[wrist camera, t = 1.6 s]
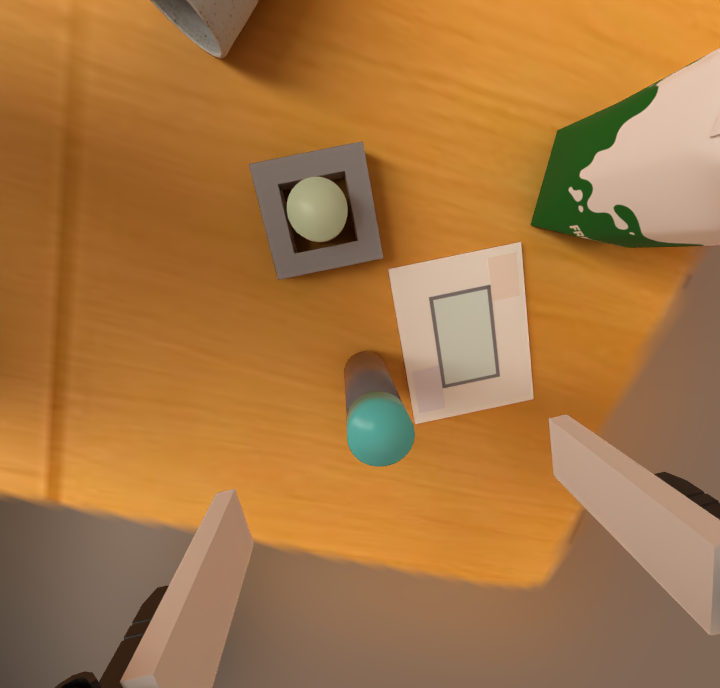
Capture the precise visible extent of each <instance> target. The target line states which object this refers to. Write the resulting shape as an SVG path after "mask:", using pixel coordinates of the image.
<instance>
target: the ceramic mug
mask: <svg viewBox="0 0 720 688" xmlns="http://www.w3.org/2000/svg"><path fill="white" fill-rule="evenodd" d="M150 1H151V2H152V3H153V4H154V5H155V6H156V7H157V8H158V9H159V10H160V11H161V12H162V13H163V14H164V15H165V16H166V17H167V19H169V20H170V21H171V22H172V23H173V24H174V25H176V26H177V27H178V28H179V29H180V30H181V31H182V32H183V33H184V34H185V35H186V36H187V37H188V38H189V39H191V40H192V41H193V42H194V43H196V44H197V45H198V46H199V47H200V48H202V49H204V50H205V51H206V52H207V53H209V54H211V55H213V56H215V57H217V58H223V57H225V56H226V55H227V54H228V52H229V50H230V48H231V47H232V45H233V43H234V41H235V40H236V38H237V37H238V35H239V33H240V32H241V30H242V29H243V27H244V25H245V24H246V22H247V20H248V19H249V17H250V15H251V14H252V12H253V10H254V8H255V7H256V5H257V3H258V2H259V0H150Z"/></svg>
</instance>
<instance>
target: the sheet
mask: <svg viewBox="0 0 720 688" xmlns="http://www.w3.org/2000/svg"><path fill="white" fill-rule="evenodd" d="M388 273H389V279H390V284H391V290H392V296H393V301H394V307H395V313H396V319H397V324H398V330H399V336H400V342H401V347H402V353H403V359H404V365H405V370H406V376H407V382H408V387H409V393H410V399H411V405H412V410H413V416H414V422H415V424H419V423H423V422H428V421H433V420H438V419H442V418H447V417H452V416H456V415H461V414H466V413H471V412H475V411H480V410H485V409H490V408H494V407H499V406H504V405H508V404H513V403H518V402H523V401H527V400H532V399H534V396H533V384H532V372H531V359H530V347H529V334H528V322H527V309H526V297H525V284H524V272H523V259H522V247H521V242H517V243H512V244H508V245H503V246H498V247H493V248H488V249H483V250H478V251H474V252H469V253H464V254H459V255H454V256H449V257H444V258H439V259H435V260H430V261H425V262H420V263H415V264H410V265H405V266H401V267H396V268H391V269H388Z"/></svg>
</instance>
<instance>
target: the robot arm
mask: <svg viewBox="0 0 720 688" xmlns="http://www.w3.org/2000/svg"><path fill="white" fill-rule="evenodd" d="M549 428H550V439H551V451H552V462H553V474H554V477H555V478H556V479H557V480H558V481H559V482H560V483H561V484H562V485H563V486H564V487H565V488H566V489H567V490H568V491H569V492H570V493H571V494H572V495H573V496H574V497H575V498H576V499H577V500H578V501H579V502H580V503H581V504H582V505H583V506H584V507H585V508H586V509H587V510H588V511H589V512H590V513H591V514H592V515H593V516H594V518H595V519H597V521H598V522H599V523H600V524H601V525H603V526H604V528H605V529H606V530H607V531H608V532H609V533H610V534H611V535H612V536H613V537H614V538H615V539H616V540H617V541H618V542H619V543H620V544H621V545H622V546H623V547H624V548H625V549H626V550H627V551H628V552H629V553H630V554H631V555H632V556H633V557H634V558H635V559H636V560H637V561H638V562H639V563H640V564H641V565H642V566H643V567H644V568H645V570H646V571H648V573H649V574H651V576H652V577H653V578H654V579H655V580H656V581H657V582H658V583H659V584H660V585H661V586H662V587H663V588H664V589H665V590H666V591H667V592H668V593H669V594H670V595H671V596H672V597H673V598H674V599H675V600H676V601H677V602H678V603H679V604H680V605H681V606H682V607H683V608H684V609H685V610H686V611H687V612H688V613H689V614H690V615H691V616H692V617H693V618H694V619H695V620H696V621H697V623H698V624H700V626H701V627H702V628H703V629H705V631H706V632H707V633H708V634H709V635H710V636H711V635H715V634H720V503H719V502H718V500H716V499H714V498H713V497H711V496H710V495H708V494H705V493H704V492H703V491H702V490H700V489H699V488H697V487H696V486H694V485H693V484H691V483H690V482H688V481H686V480H684V479H682V478H679V477H676V476H674V475H672V474H669V473H666V472H662V473H658V474H653V473H651V472H649V471H648V470H647V469H645V468H644V467H642V466H641V465H640V464H638V463H637V462H635V461H634V460H632V459H631V458H629V457H628V456H627V455H625V454H624V453H622V452H620V451H619V450H618V449H616V448H615V447H614V446H612V445H611V444H609V443H608V442H606V441H605V440H603V439H602V438H601V437H599V436H598V435H596V434H595V433H593V432H592V431H590V430H589V429H587V428H586V427H585V426H583V425H582V424H580V423H579V422H577V421H576V420H574V419H573V418H572V417H570V416H569V415H567V414H566V415H561V416H557V417H552V418H549ZM253 545H254V542H253V540H252V537H251V534H250V531H249V528H248V525H247V522H246V519H245V517H244V514H243V511H242V508H241V505H240V502H239V499H238V497H237V494H236V491H235V489H232V490H228V491H223V492H219V493H216V495H215V497H214V499H213V501H212V503H211V505H210V507H209V508H208V510H207V512H206V514H205V516H204V518H203V520H202V522H201V524H200V526H199V528H198V530H197V532H196V534H195V536H194V538H193V540H192V542H191V544H190V546H189V548H188V550H187V551H186V554H185V556H184V557H183V560H182V561H181V563H180V565H179V567H178V569H177V571H176V573H175V575H174V577H173V579H172V581H171V583H170V585H168V586H163V587H159V588H157V589H156V590H155V591H154V592H153V593H152V594H151V595H150V597H149V598H148V599H147V600H146V601H145V602H144V603H143V604H142V606H141V608H140V610H139V612H138V613H137V615H136V617H135V619H134V621H133V622H132V623H133V624H132V626H130V627H129V629H128V631H127V633H126V635H125V636H124V641H122V642H121V643H120V645H119V647H118V649H117V651H116V653H115V654H114V656H113V658H112V660H111V661H110V663H109V665H108V667H107V669H106V670H105V672H104V674H103V676H102V677H101V679H100V681H99V682H98V680H97V679H96V677H95V676H94V674H93V673H91V672H82V673H79V674H76V675H73V676H71V677H69V678H68V679H66V680H65V681H63V682H61V683H60V684H58V685H57V686H56V687H55V688H212V686H213V683H214V679H215V676H216V672H217V669H218V665H219V662H220V658H221V655H222V652H223V648H224V645H225V641H226V638H227V635H228V631H229V628H230V624H231V621H232V617H233V614H234V610H235V607H236V604H237V600H238V597H239V593H240V590H241V586H242V583H243V579H244V576H245V573H246V569H247V566H248V562H249V558H250V556H251V552H252V549H253Z"/></svg>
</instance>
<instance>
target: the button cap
mask: <svg viewBox="0 0 720 688" xmlns="http://www.w3.org/2000/svg"><path fill="white" fill-rule="evenodd" d="M347 213H348V207H347V201H346V198H345V196H344V194H343V192H342V190H341V189H340V188H339V187H338V186H337V185H336V184H335V183H334V182H332V181H331V180H329V179H326V178H323V177H309V178H306V179H304V180H302V181H300V182H299V183H298V184H296V185H295V187H294V188H293V189H292V191H291V192H290V194H289V197H288V201H287V215H288V219H289V221H290V223H291V225H292V227H293V228H294V229H295V231H296V232H297V233H298V234H300V235H301V236H303V237H304V238H306V239H308V240H310V241H313V242H318V243H322V242H327V241H330V240H332V239H334V238H335V237H337V236H338V235H339V234H340V233H341V231H342V230H343V228H344V225H345V222H346V219H347Z"/></svg>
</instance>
